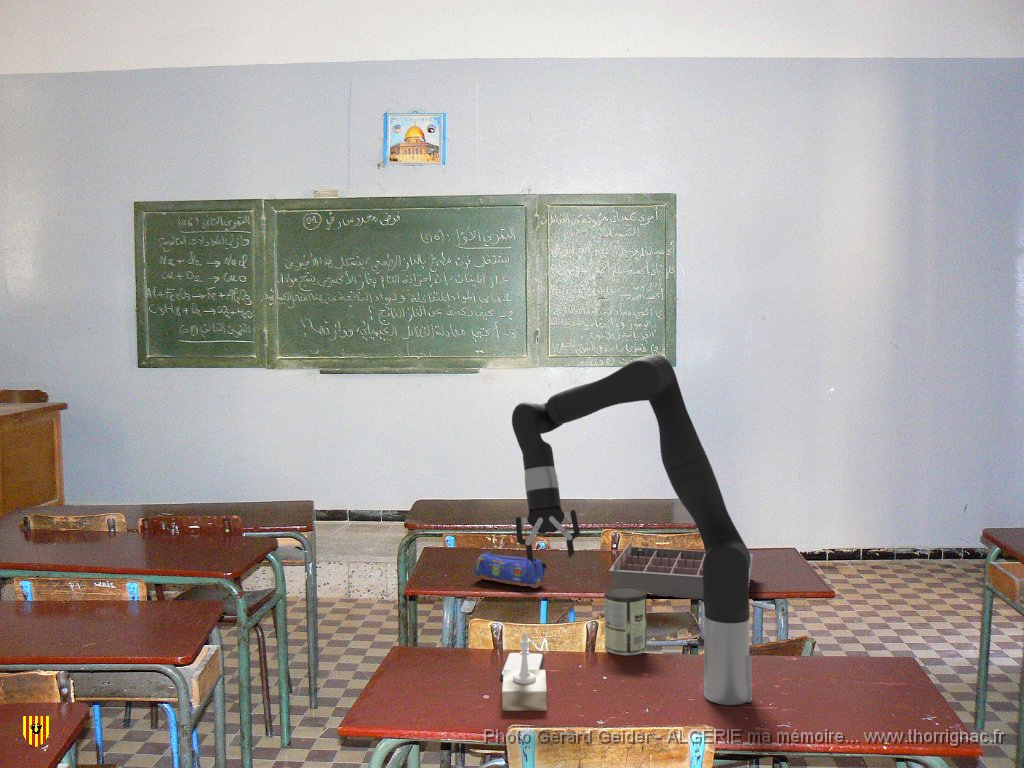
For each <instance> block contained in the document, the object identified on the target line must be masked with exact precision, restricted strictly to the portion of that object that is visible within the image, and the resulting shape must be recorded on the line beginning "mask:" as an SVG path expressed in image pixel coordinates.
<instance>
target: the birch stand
mask: <svg viewBox="0 0 1024 768" xmlns="http://www.w3.org/2000/svg"><path fill="white" fill-rule="evenodd" d="M519 671H520V670H504V674H503V681H502V690H501V691H502V692H501V693H502V695H501V696H502V699H501V700H502V701H501V703H502V705H501V706H502V708H501V710H502V712H503V711H507V712H508V711H509V712H510V711H512V712H513V711H515V712H516V711H518V712H520V711H527V712H528V711H533V712H534V711H535V712H536V711H537V712H538V711H541V712H542V711H547V706H548V705H547V704H548V701H547V693H548V692H547V676H546V669H542V670H529V671H530V673H533V674H535V676H536V681H535V682H533V683H529V684H520V683H516V682H514V681H513V676H514V674H516V673H519Z"/></svg>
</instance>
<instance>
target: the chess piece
mask: <svg viewBox="0 0 1024 768" xmlns="http://www.w3.org/2000/svg"><path fill="white" fill-rule="evenodd" d="M526 633H527V632H526V631H525V632H523V633H522V636H521V640H520V641H519V645H520V648H521V651H519V652H518V653H519V654H520V655H522V663H521V670H520V671H519V673H516V674H514V676H513V681H514V682H516V683H520V684H529V683H533V682H535V681H536V676H535V674H533V673H530V671H529V670H528V663H527V655H529V654H530V653H531V652H529V651H528V648H529V644H530V640H529V641H528V640H526V639H527V637H528V634H526Z"/></svg>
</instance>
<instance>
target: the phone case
mask: <svg viewBox="0 0 1024 768" xmlns="http://www.w3.org/2000/svg"><path fill="white" fill-rule="evenodd" d="M519 653H520V652H509V653H508V654H507V655H506V659H505V661H504V663H503V666H502V668H501V672H500V675H499V678H500V680H501V681H502V680H503V674H504V670H521V663H522V655H520V654H519ZM529 653H530V654H529V655H527V663H528V670H543V666H544V660H545V655H544V654H543V653H539V652H538V653H535V652H532V653H531V652H529Z"/></svg>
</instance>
